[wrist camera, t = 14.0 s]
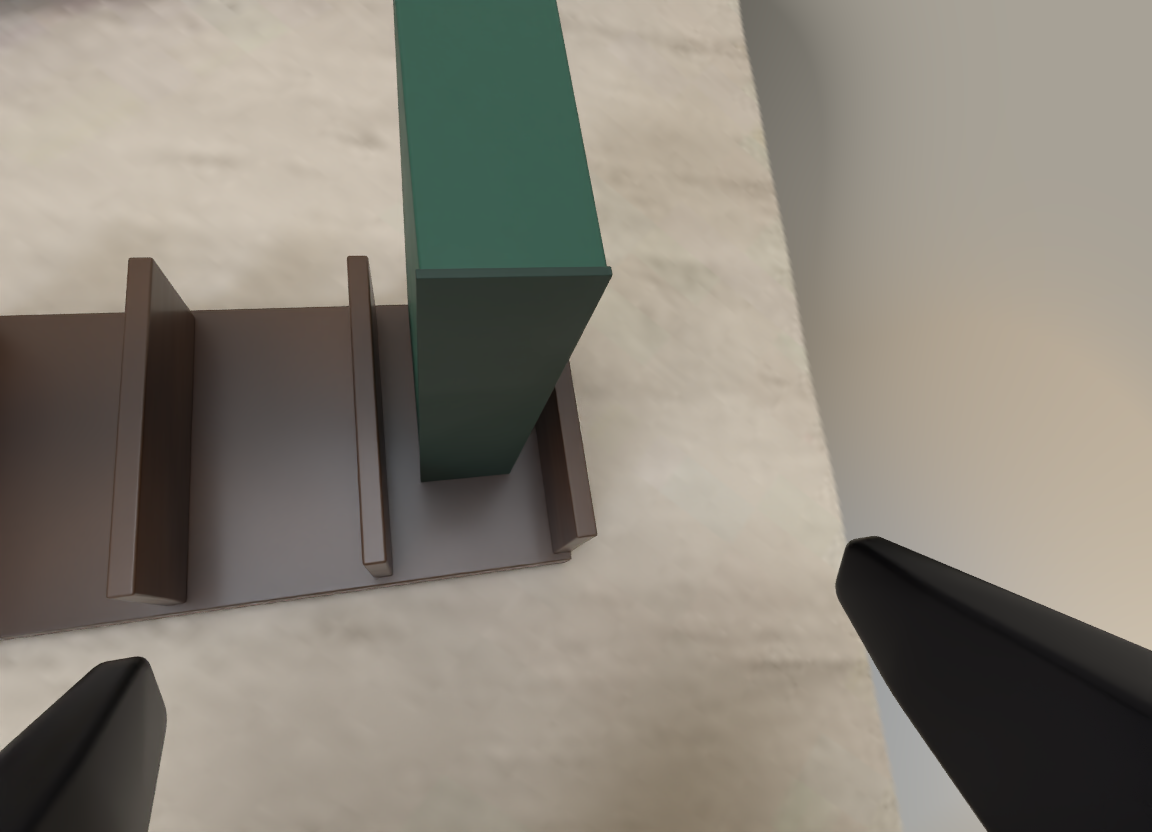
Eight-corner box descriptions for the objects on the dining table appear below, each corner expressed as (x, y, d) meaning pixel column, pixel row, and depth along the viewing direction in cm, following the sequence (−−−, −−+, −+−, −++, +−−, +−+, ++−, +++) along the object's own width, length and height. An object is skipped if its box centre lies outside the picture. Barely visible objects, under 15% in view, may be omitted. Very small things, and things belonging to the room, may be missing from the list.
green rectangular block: (509, 473, 21) (613, 275, 10) (420, 482, 20) (416, 279, 9) (489, 308, 23) (554, -26, 11) (407, 310, 22) (387, -45, 11)
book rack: (567, 561, 21) (599, 544, 17) (-65, 649, 17) (-215, 652, 13) (530, 310, 24) (551, 246, 20) (-19, 328, 20) (-130, 249, 16)
